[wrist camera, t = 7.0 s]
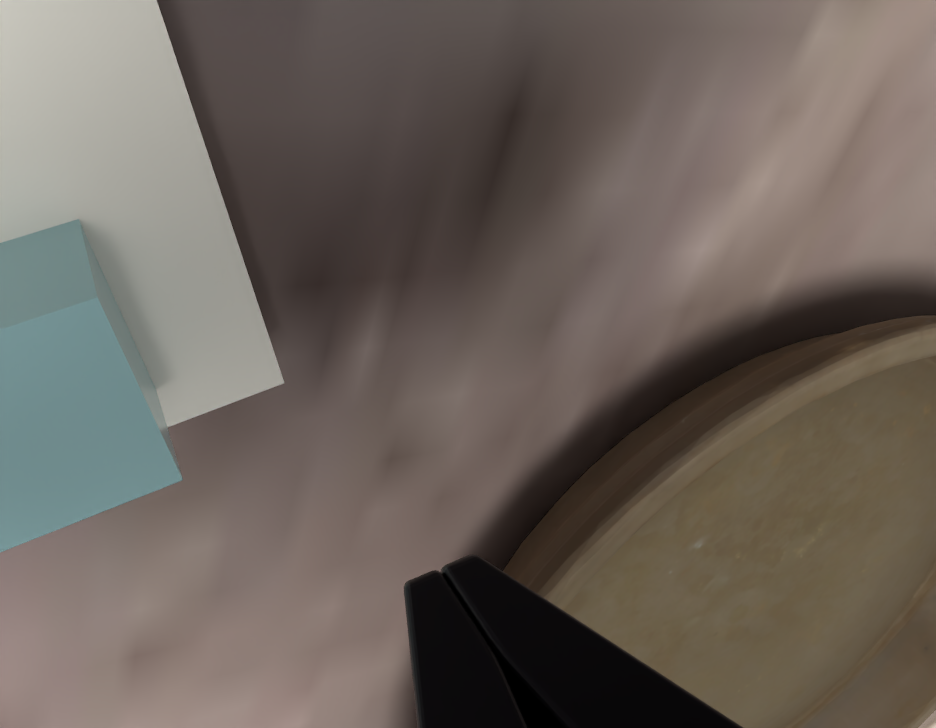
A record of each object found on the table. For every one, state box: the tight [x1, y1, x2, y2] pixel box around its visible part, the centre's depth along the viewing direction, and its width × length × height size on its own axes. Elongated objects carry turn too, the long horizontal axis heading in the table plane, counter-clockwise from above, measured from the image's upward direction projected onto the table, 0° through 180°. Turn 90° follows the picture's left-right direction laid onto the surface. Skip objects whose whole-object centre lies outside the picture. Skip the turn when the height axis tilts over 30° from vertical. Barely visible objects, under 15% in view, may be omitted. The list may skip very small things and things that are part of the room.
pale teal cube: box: [0, 219, 183, 552], centre depth 15 cm, size 4×4×3 cm
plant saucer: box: [503, 315, 936, 728], centre depth 36 cm, size 31×31×5 cm
